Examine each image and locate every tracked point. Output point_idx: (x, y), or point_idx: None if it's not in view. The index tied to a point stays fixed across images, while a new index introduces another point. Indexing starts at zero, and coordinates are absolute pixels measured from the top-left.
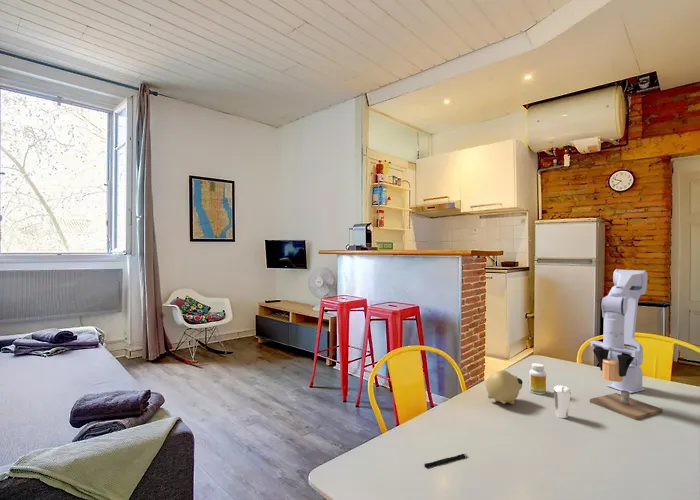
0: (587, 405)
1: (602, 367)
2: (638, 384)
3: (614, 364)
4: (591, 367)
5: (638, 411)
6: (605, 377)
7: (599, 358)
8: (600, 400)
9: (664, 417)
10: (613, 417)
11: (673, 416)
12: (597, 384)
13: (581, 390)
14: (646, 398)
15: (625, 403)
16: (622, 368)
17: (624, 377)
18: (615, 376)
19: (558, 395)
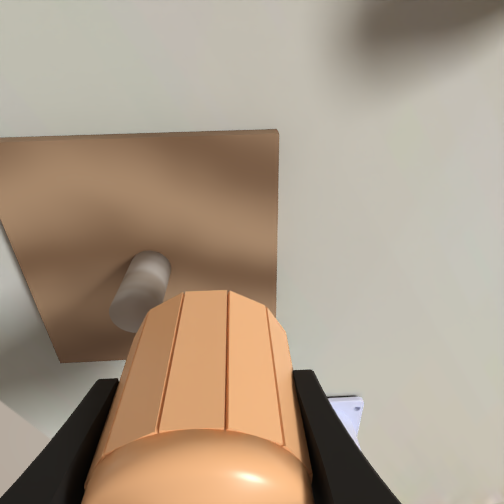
0: (242, 48)
1: (299, 400)
2: None
3: (106, 478)
4: (500, 493)
5: (42, 233)
6: (221, 301)
7: (350, 498)
8: (233, 178)
9: (9, 308)
10: (27, 21)
11: (18, 349)
12: (398, 382)
13: (406, 252)
14: None
15: (135, 258)
16: (30, 464)
17: None
18: (135, 348)
19: None
